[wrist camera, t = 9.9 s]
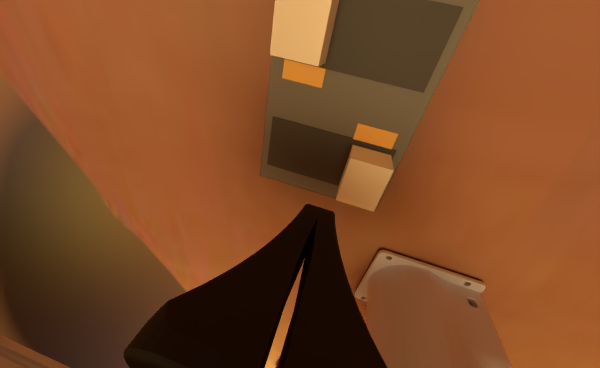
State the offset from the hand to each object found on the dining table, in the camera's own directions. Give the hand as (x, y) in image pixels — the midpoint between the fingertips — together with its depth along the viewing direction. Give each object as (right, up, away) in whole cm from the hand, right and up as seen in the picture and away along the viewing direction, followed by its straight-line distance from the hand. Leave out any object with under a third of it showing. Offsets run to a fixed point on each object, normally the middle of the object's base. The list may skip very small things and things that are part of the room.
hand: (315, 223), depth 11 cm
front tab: (0, +10, +1) cm, 10 cm away
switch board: (+2, +8, +5) cm, 9 cm away
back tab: (+3, +3, +4) cm, 6 cm away
